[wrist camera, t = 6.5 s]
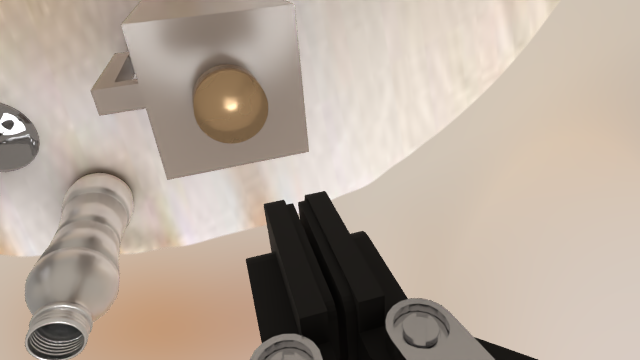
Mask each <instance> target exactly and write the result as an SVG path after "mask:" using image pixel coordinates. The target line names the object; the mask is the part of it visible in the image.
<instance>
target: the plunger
mask: <svg viewBox="0 0 640 360" xmlns="http://www.w3.org/2000/svg"><path fill="white" fill-rule="evenodd" d="M192 96H193V109H194V116H195V119H196V122H197V124H198V126H199V127H200V129H201V130H202V131H203V132H204V133H205V134H206V135H207V136H209V137H210V138H212V139H214V140H216V141H219V142H222V143H229V144H234V143H240V142H244V141H246V140H248V139H250V138H252V137H253V136H255V135H256V134H257V133H258V132H259V131H260V130H261V129H262V127H263V126H264V124H265V122H266V119H267V116H268V100H267V97H266V94H265V92H264V90H263V89H262V87H261V86H260V84H259V83H258V81H257V79H256V78H255V77H254V76H253V75H252V74H251V73H250V72H249V71H248V70H246V69H244V68H242V67H240V66H237V65H233V64H221V65H217V66H214V67H211V68H209V69H208V70H206V71H205V72H204V73H203V74H202V75H201V76H200V77H199V78H198V80H197V81H196V83H195V86H194V89H193V95H192Z"/></svg>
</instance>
